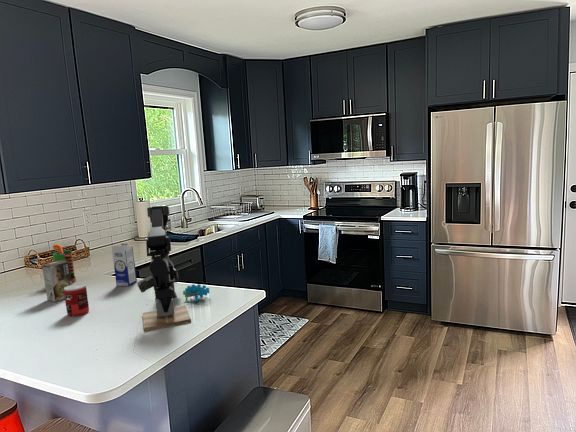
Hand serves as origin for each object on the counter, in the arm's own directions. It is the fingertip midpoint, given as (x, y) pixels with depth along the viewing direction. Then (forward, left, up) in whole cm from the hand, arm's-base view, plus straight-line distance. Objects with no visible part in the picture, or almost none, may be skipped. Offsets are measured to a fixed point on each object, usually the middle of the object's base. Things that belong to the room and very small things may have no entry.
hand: (165, 309), depth 157 cm
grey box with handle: (0, 0, -1) cm, 1 cm away
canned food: (-25, -32, -4) cm, 41 cm away
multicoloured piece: (-79, -43, -4) cm, 90 cm away
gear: (-16, +14, -4) cm, 22 cm away
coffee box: (-52, -42, -4) cm, 67 cm away
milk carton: (-58, -14, -4) cm, 60 cm away
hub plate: (0, 0, -4) cm, 4 cm away
